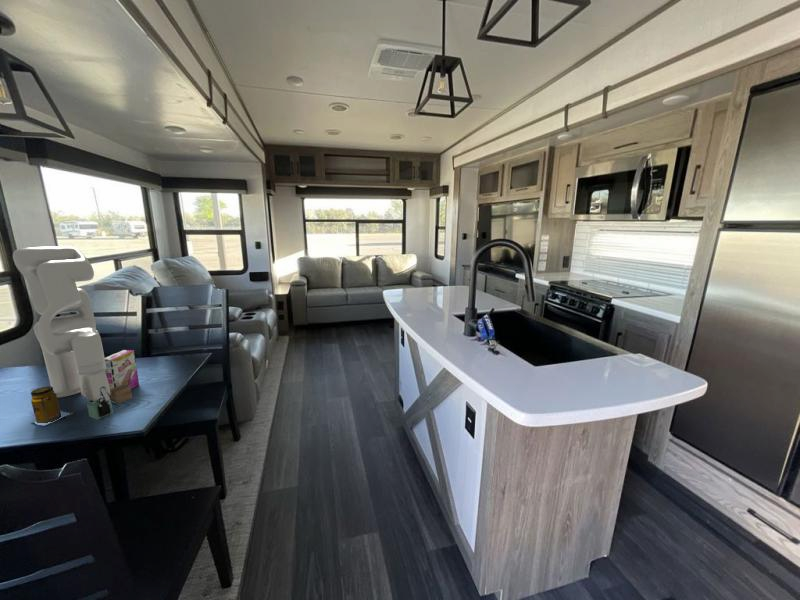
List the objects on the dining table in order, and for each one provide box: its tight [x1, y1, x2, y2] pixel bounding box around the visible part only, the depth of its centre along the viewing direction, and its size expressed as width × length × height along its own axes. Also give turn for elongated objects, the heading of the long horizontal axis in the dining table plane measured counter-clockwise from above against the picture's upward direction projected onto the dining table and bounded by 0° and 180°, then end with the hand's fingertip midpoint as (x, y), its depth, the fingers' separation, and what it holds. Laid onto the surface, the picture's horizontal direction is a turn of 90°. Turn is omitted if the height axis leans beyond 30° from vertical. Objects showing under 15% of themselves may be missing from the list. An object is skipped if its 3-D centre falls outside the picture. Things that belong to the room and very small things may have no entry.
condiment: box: [30, 385, 74, 423], centre depth 114 cm, size 7×8×12 cm
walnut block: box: [110, 384, 133, 405], centre depth 129 cm, size 5×5×5 cm
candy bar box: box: [104, 349, 140, 397], centre depth 134 cm, size 11×5×16 cm, turn 178°
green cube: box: [86, 399, 114, 421], centre depth 118 cm, size 5×5×5 cm
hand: (101, 412), depth 119 cm, fingers closed on green cube, 5 cm apart
